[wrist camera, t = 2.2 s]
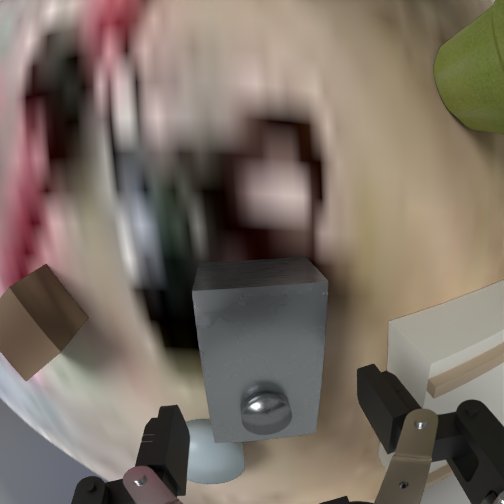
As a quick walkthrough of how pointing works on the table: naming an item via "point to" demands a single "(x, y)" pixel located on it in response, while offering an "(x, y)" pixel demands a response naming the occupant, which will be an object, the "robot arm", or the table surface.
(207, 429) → the grey dome
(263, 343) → the block
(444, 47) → the plant pot
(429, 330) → the stand
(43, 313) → the walnut block
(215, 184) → the table surface
